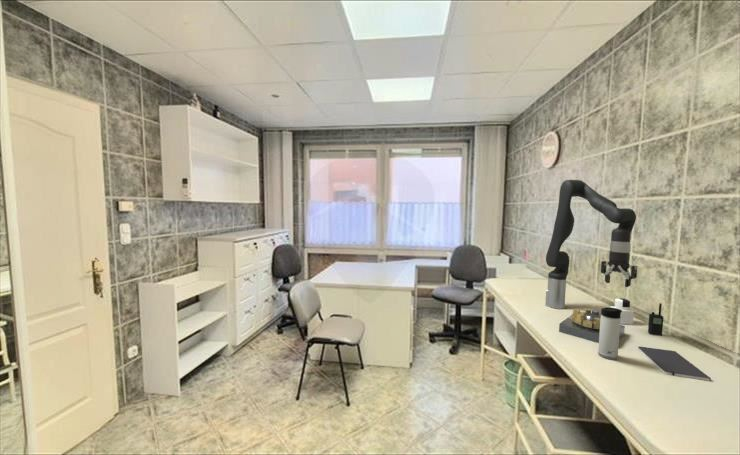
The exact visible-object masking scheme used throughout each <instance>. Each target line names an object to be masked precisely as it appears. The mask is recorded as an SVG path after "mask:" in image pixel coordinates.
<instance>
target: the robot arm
mask: <svg viewBox="0 0 740 455" xmlns="http://www.w3.org/2000/svg"><path fill="white" fill-rule="evenodd" d="M574 197H575V198H576V197H577V198H579V197H580V198H581V199H582V198H583V199H584V200H586V201H587V202H588V204H589V205H590V207H592V208H593V209H594V210H596V211H597V212H599V213H601V214H603V216H604V217H605V219H607V220H608V221H610V222H611V223H613V224H618V226H617V227H616V228H613V229H612V230H611V235H610V236H611V237H610V244H609V254H608V261H607V260H602V261H601V262H600V263H601V265H600V274H603V275H604V282H605V283H606V284H610V283H611V274H612V273H613V272H615V273H616V272H617V273H621V274H622V275H623V276H624V278H625V280H624V281H625V282H624V287H625V288H629V287H630V286H631V284H632V280H633V279H637V275H638V266H637V265H633V264H632V265H631V264H630V257H631V233H632V231H633V229H634V226H635V224H636V220H637V214H636V212H635V210H633V209H631V208H619V207H618V205H617V204H616V202H614V201H613V200H611V199H609V198H607V197H605V196H603V195H602V194H599V193H598V192H597V191H596V190H594V189H593V187H590V186H589V185H588V184H587V183H586V182H585V181H583V180H581V179H580V180H579V179H566V180H564V181H562V183H561V185H560V188H559V197H558V205H557V206H558V207H557V211H556V216H555V221H554V225H553V231H552V235H551V239H550V242H549V246H548V249H547V252H546V256H545V263H546V265H547V266H548V267H549V268H554V269H553V270H552V271H551V270H550V271H549V272H548V274H547V289H546V290H545V303H544V305H545V306H546V307H548V308H551V309H552V308H553V309H559V310H563V309H565V307H566V293H567V292H566V290H567V289H566V288H567V287H566V286H567V276H568V275H569V268H570V256H569V253H567V252H566V251H563V250H562V251H560V250H561V248H562V245H563V244H564V242H565V241H566V240H568V238H569V237H570V236H571V234H572V232H573V229H574V225H575V217H574V213H573V212H572V208H571V202H572V198H574ZM607 266H608V267H609V268H608V269H607ZM629 269H630V271H629Z"/></svg>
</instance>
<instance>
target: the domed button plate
mask: <svg viewBox="0 0 740 455" xmlns="http://www.w3.org/2000/svg"><path fill="white" fill-rule="evenodd" d="M584 315H585V320H589V321H594V318H600V319H601V316H600V315H597V314H593V313H592V312H591V313H584ZM625 328H626V327H625V325H624V324H620V333H619V341H620V340H621V339H622V337H623V336H624V335H625V332H626V331H625ZM558 333H562V334H566V335H569V336H572V337H577V338H580V339H583V340H586V341H590V342H594V343H597V344H599V333H600V329H593V328H589V327H585V326H582V325H579V324H577V323H575V322H573V320H572V314H571V315H570V316H568V317H566V319H564V320H562V321H561V322H560V323H559V324H558Z"/></svg>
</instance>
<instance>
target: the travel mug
mask: <svg viewBox="0 0 740 455" xmlns="http://www.w3.org/2000/svg"><path fill="white" fill-rule="evenodd" d="M621 312H622V310H620V309H617V308H610V307H608V306H607V307H604V308H602V309H601V319H600V333H599V343H598V348H597V349H598V351H597V354H598V355H599V356H600V357H601V358H604V359H605V360H611V361H612V360H613V361H614V360H615V361H616V360H618V359H619V344H620V340H619V333H620V325H621V324H620V319H621V316H620V315H621Z"/></svg>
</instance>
